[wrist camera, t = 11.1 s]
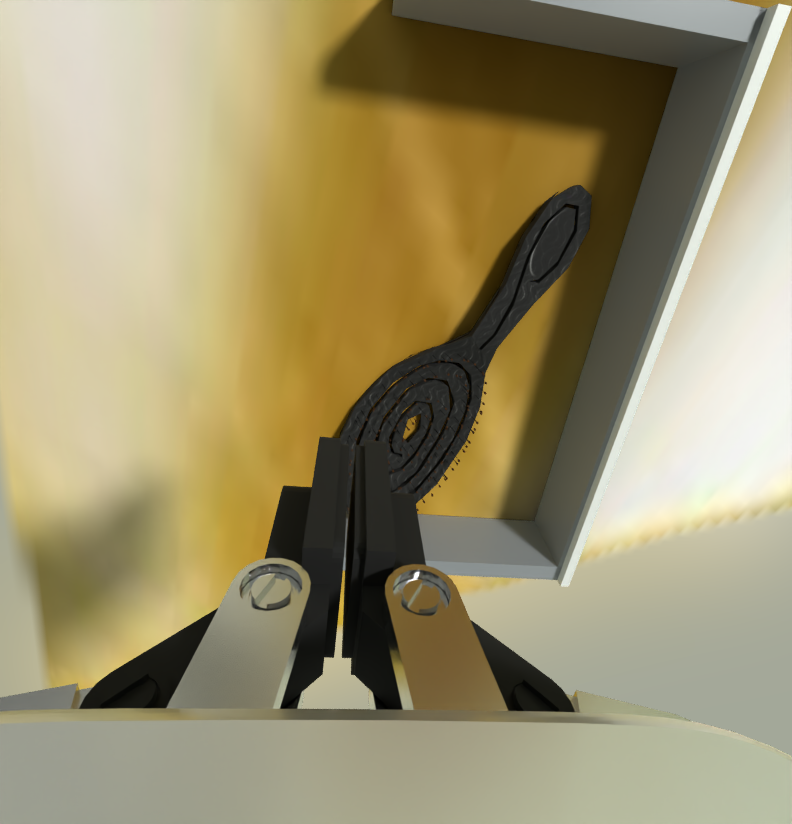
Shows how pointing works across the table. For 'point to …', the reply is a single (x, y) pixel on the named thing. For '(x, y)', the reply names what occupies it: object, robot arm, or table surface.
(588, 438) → the box
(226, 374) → the table surface
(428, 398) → the hairbrush
